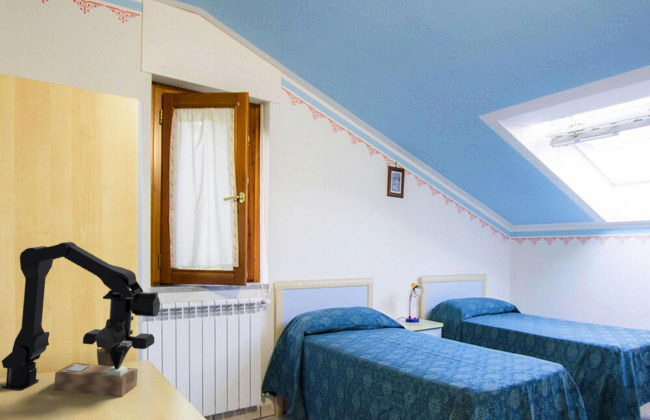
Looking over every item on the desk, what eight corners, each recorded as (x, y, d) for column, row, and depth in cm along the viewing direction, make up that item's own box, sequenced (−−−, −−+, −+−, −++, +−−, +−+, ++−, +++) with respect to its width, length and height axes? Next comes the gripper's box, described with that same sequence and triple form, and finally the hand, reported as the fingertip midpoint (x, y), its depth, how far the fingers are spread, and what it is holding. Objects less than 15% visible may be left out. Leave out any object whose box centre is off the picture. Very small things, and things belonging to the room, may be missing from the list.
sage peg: (105, 387, 124) (106, 370, 124) (113, 381, 128) (114, 365, 128) (119, 388, 124) (120, 371, 124) (126, 383, 128) (127, 366, 128)
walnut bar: (54, 390, 123) (55, 372, 123) (72, 379, 131) (73, 362, 131) (121, 396, 122) (122, 378, 122) (136, 385, 130) (137, 368, 130)
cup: (110, 378, 133) (112, 352, 133) (89, 375, 135) (91, 349, 135) (126, 370, 140) (128, 345, 141) (106, 367, 142) (107, 342, 142)
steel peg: (65, 386, 125) (66, 369, 125) (74, 381, 129) (75, 365, 129) (78, 387, 125) (79, 371, 125) (87, 382, 129) (88, 366, 129)
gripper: (71, 318, 119) (67, 376, 119) (137, 324, 117) (133, 382, 117) (96, 309, 130) (93, 362, 130) (156, 314, 128) (153, 367, 128)
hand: (117, 368), depth 126 cm, fingers closed, pressing on sage peg
